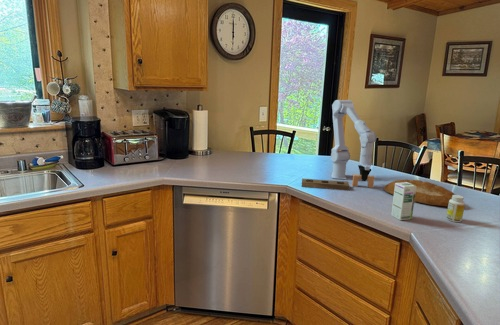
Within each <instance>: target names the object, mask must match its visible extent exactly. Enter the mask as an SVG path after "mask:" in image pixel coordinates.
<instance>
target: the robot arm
mask: <svg viewBox="0 0 500 325" xmlns="http://www.w3.org/2000/svg"><path fill="white" fill-rule="evenodd" d="M331 109H332V123H333V124H332V125H333V137H334V138H333V139H334V147H332V148H331V153H330V159H331V161H332V163H333V164H332V172H331V173H330V175H331V179H335V180H336V179H338V180H347V176H346V171H347V164H348V161H349V160H350V159H351V154H350V151H349V150H350V149H349V147H348V146H346V142H345V130H344V120H343V119H344V116H345V115H348V118H350V119H351V121H352V122H353V124H354V126H353V127H354V129H355V131H356V132H357V133H358V135H359V141H360V153H359V162H358V165H357V166H358V170H359V175H361V179H362V180H361V182H367V181H368V180H367V177H368V175H370V173H371V171H372V169H371V166H374V163H373V162H372V158H373V157H372V156H373V149H374V143H375V142H376V141H377V134H376V132H375V131H372V130H371V129H370V127H369V126H368V125H367V123H366V121H364V120H361V119H360V116H359V114H358V113H357V111H356V109H355V104H354V102H353V101H352V99H342V100H341V99H336V100H334V101H333V103H332V104H331Z"/></svg>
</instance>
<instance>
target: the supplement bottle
mask: <svg viewBox="0 0 500 325" xmlns="http://www.w3.org/2000/svg"><path fill="white" fill-rule="evenodd" d="M464 199H465V198H464V196H462V195H458V194H455V195H452V199H450V200H449V204H448V207H447V212H446V216H445V217H446V220H447V221H450V222H454V223H461V222H462V221H463V217H464V210H465V206H466V202H465V200H464Z"/></svg>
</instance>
